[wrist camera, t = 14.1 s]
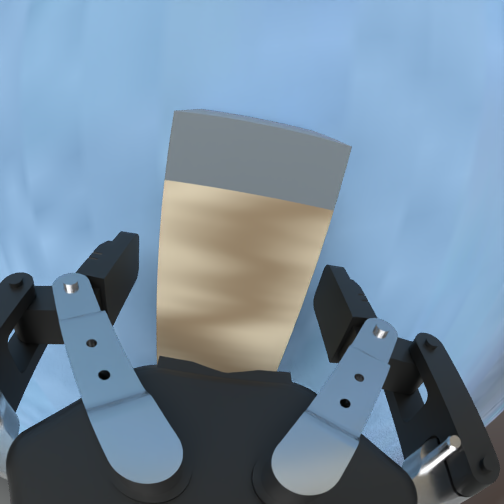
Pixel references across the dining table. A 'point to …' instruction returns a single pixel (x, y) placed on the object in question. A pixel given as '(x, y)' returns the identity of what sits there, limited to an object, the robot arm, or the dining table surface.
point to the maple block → (240, 235)
